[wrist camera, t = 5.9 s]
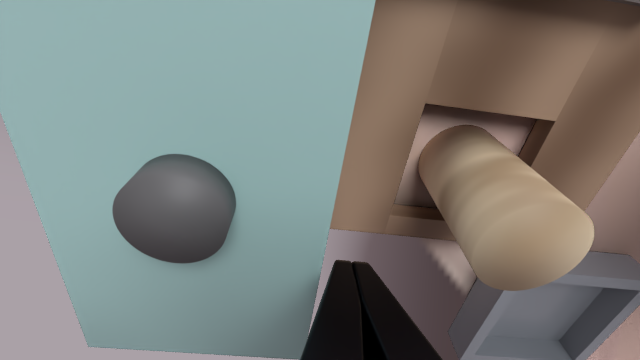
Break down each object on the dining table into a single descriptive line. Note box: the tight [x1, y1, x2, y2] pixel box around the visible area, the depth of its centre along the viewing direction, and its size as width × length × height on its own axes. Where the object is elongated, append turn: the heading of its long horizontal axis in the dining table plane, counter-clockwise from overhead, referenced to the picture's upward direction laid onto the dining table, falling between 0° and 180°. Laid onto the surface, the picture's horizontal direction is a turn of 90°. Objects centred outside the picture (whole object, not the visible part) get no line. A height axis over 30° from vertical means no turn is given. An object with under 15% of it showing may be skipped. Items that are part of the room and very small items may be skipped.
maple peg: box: [418, 125, 594, 291], centre depth 13 cm, size 4×4×6 cm
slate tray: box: [448, 251, 640, 360], centre depth 19 cm, size 8×8×2 cm
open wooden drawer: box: [330, 0, 640, 241], centre depth 13 cm, size 18×12×2 cm
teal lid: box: [0, 0, 376, 360], centre depth 8 cm, size 6×11×6 cm, turn 172°
